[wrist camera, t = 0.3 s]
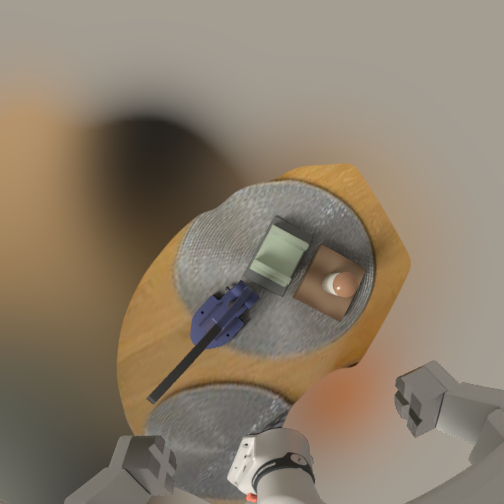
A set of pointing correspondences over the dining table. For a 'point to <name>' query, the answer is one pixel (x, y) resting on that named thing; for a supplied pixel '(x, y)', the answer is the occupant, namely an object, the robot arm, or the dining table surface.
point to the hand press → (212, 328)
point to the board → (312, 282)
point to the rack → (279, 256)
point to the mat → (250, 273)
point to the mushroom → (340, 284)
